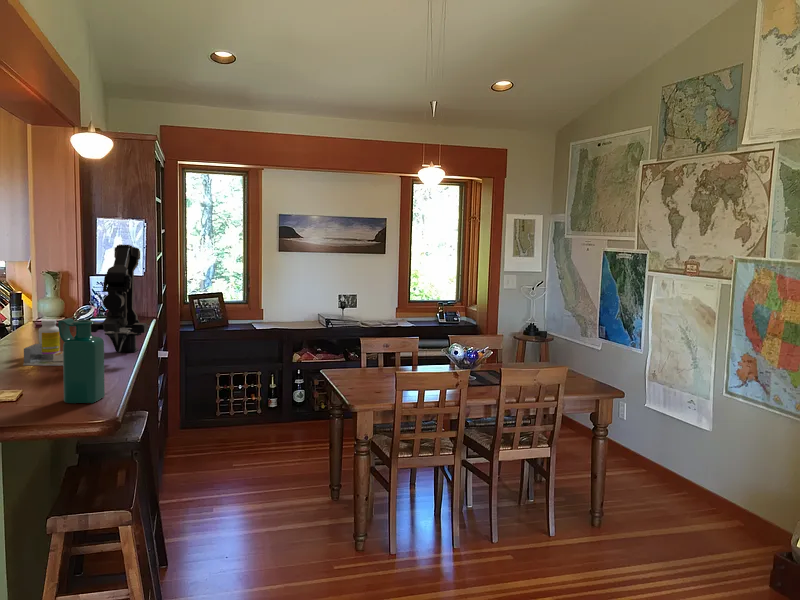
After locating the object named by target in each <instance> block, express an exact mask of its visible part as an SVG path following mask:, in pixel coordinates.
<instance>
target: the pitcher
mask: <svg viewBox="0 0 800 600" xmlns="http://www.w3.org/2000/svg"><path fill="white" fill-rule="evenodd" d="M95 322H96V321H94V320H92V319H91V320H89V319H80V320H79V319H78V320H74V318H71V317H69V318H65V319H64V318H63V319H61V320H58V321H57V324H58V325H57V327H58V328H59V333H60V339H61V340H62V341H63V344H62V352H63V366H62V367H63V368H62V372H63V402H64V403H65V404H76V403H91V404H95V403H97V402H98V401H100V400H101V398H102V399H104V398H105V394H106V393H105V391H106V389H105V342H104V338H102V337H99V336H96V335H95V336H94V335H92V332H91V324H94V323H95ZM70 327H75V331H76V333H75V335H74V336H73V335H72V333H71V331H70ZM96 401H97V402H96ZM94 402H95V403H94Z"/></svg>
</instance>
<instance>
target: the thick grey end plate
mask: <svg viewBox="0 0 800 600" xmlns="http://www.w3.org/2000/svg"><path fill="white" fill-rule="evenodd" d="M53 361H63V351H60V352H56V353H54V354H53Z"/></svg>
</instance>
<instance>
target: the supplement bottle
mask: <svg viewBox="0 0 800 600" xmlns="http://www.w3.org/2000/svg"><path fill="white" fill-rule="evenodd" d="M40 322H41V325H42V326H41V327H39V328H38V344H42V354H54V353H56V352H61V337H60V333H59V327H58V326H57V319H41V321H40Z"/></svg>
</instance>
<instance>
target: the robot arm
mask: <svg viewBox="0 0 800 600" xmlns="http://www.w3.org/2000/svg"><path fill="white" fill-rule="evenodd" d="M113 255H114V263H113V266H111V267H109V268H108V269H107V272H106V273H105V274H104V280H103V288H102V292H104V293H105V292H106V293H107V295H106V296H104V298H103V300H102V305H103V308H104V309H106V310H107V315H106V317H105V319H104V320H103V321H94V322H95V323H94V324H91V333H97V332H98V331H103V332H104V335H105V336H108V337H109V339H110V340H111V343H112V345H113V348H114V350H115V352H116V353H136V352H137V351H138V350H140V348H139V347H137V337H139V336H142V334H144V333H147V332H148V331H149V325H148V324H147V322H140V320H139V319H138V318H139V317H138V314H137V313H136V311H135V309H134V291H135V290H134V287H135V284H134V282H135V276H134V275H135V274H134V273H135V270H136V268H137V267H138V265H139V261H140V259H141V250H140V249H139V248H138V247H136V246H133V245H131V244H117V245H116V247H114V253H113Z"/></svg>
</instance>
